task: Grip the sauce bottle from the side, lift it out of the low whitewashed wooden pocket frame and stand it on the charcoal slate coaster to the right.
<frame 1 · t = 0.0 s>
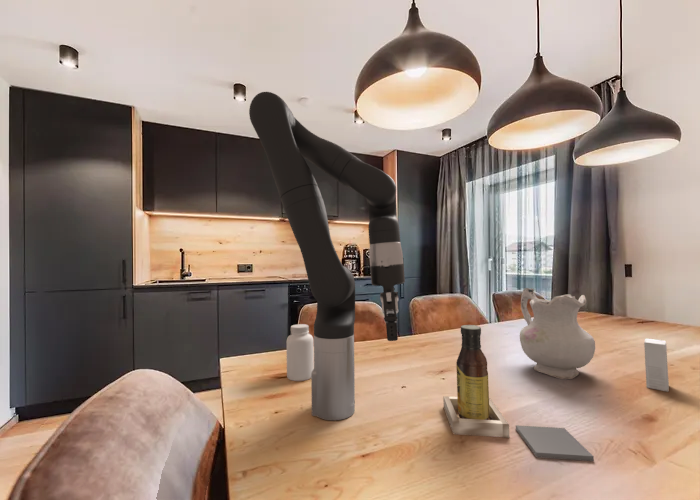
hand: (392, 335, 70), 17 cm above the table, tool pointing down, fingers open, 8 cm apart
pill bottle: (300, 377, 93), on the table
ceramic pitcher: (552, 370, 96), on the table
pocket frame: (473, 420, 66), on the table
skincare box: (657, 387, 83), on the table
sauce bottle: (473, 421, 66), resting in pocket frame
coaster: (551, 443, 57), on the table
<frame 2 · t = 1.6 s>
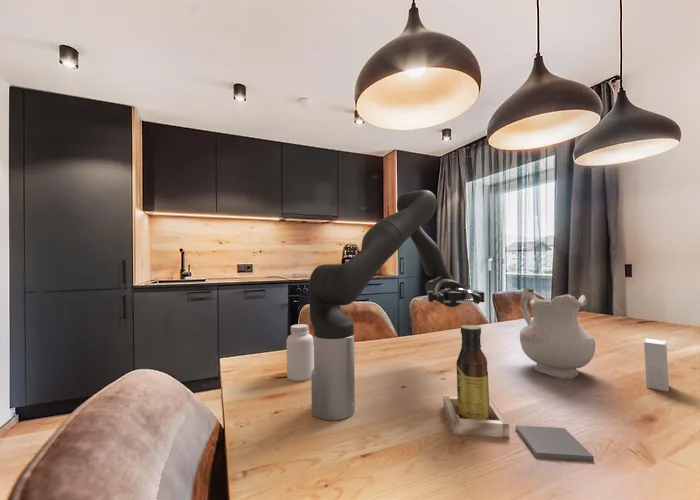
hand: (460, 299, 78), 24 cm above the table, tool horizontal, fingers open, 8 cm apart
nothing on the table moved.
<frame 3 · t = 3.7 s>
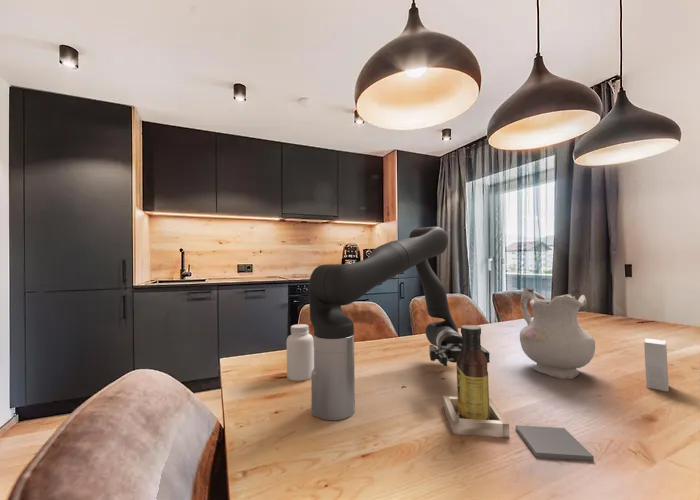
hand: (464, 362, 73), 10 cm above the table, tool horizontal, fingers open, 8 cm apart
nothing on the table moved.
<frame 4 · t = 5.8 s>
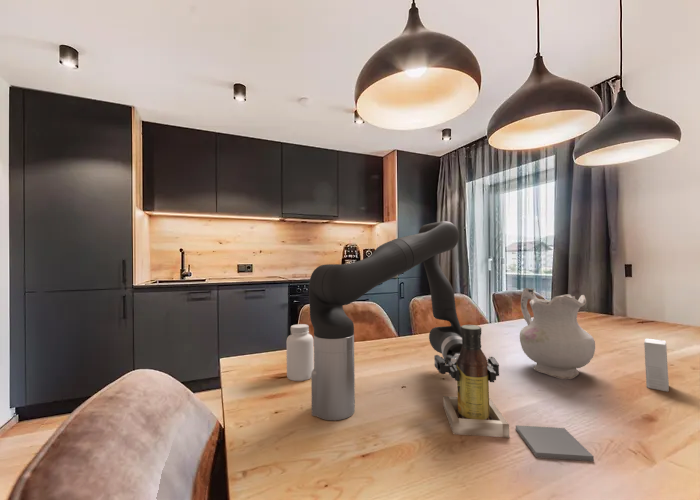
hand: (475, 376, 64), 10 cm above the table, tool horizontal, fingers closed on sauce bottle, 6 cm apart
sauce bottle: (473, 421, 66), resting in pocket frame, touching gripper
everything else where it was.
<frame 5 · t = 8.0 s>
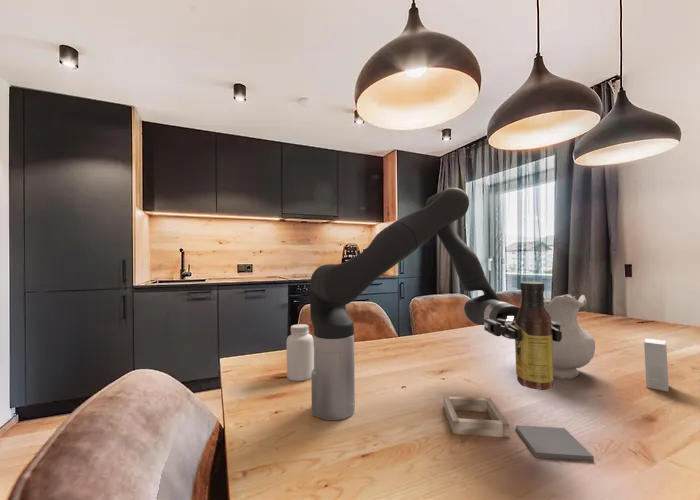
hand: (539, 335, 58), 20 cm above the table, tool horizontal, fingers closed on sauce bottle, 6 cm apart
sauce bottle: (534, 386, 60), point 10 cm above the table, touching gripper
everything else where it was.
when the fingers open (12 cm above the table, at t = 10.3 s): sauce bottle stays where it is, resting on coaster.
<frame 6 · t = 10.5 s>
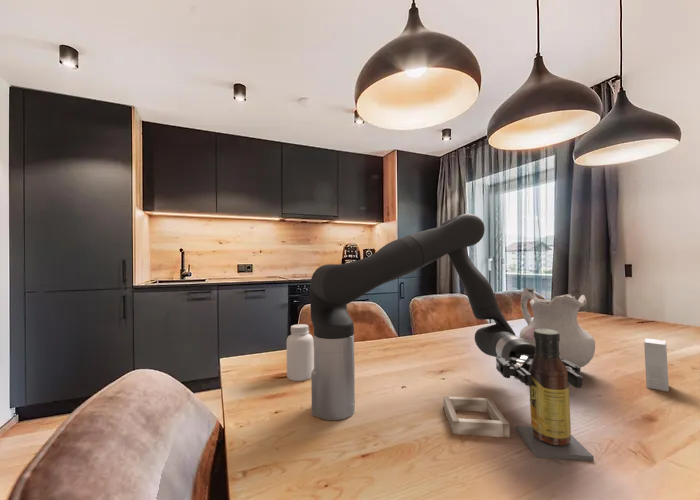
hand: (554, 381, 56), 12 cm above the table, tool horizontal, fingers open, 8 cm apart
sauce bottle: (550, 439, 58), point 1 cm above the table, touching coaster
everything else where it was.
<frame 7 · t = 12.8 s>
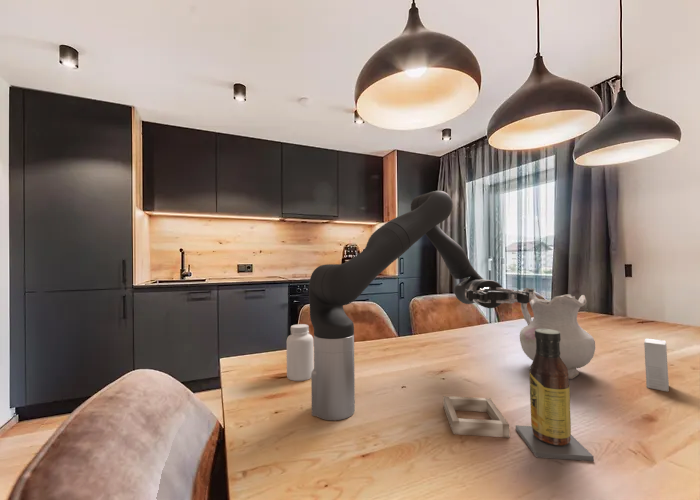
hand: (505, 298, 72), 25 cm above the table, tool horizontal, fingers open, 8 cm apart
nothing on the table moved.
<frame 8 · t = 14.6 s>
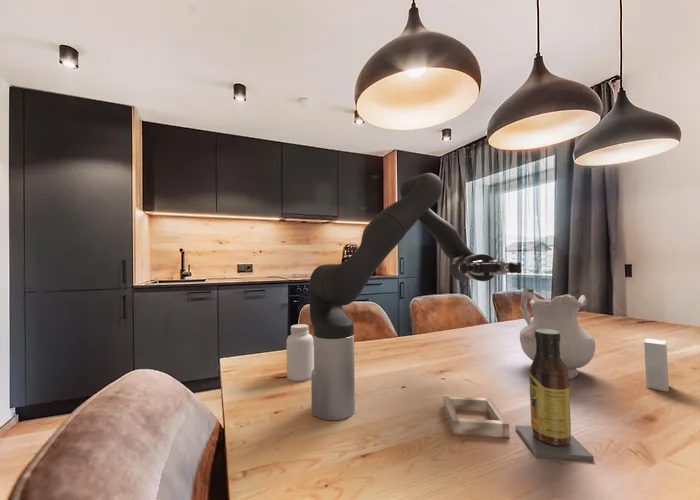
hand: (497, 268, 73), 32 cm above the table, tool horizontal, fingers open, 8 cm apart
nothing on the table moved.
at the end: sauce bottle inside the target area on the coaster (0.2 cm from its centre), point 0.6 cm above the coaster's base; sauce bottle tilted 0°; the gripper is holding nothing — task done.
